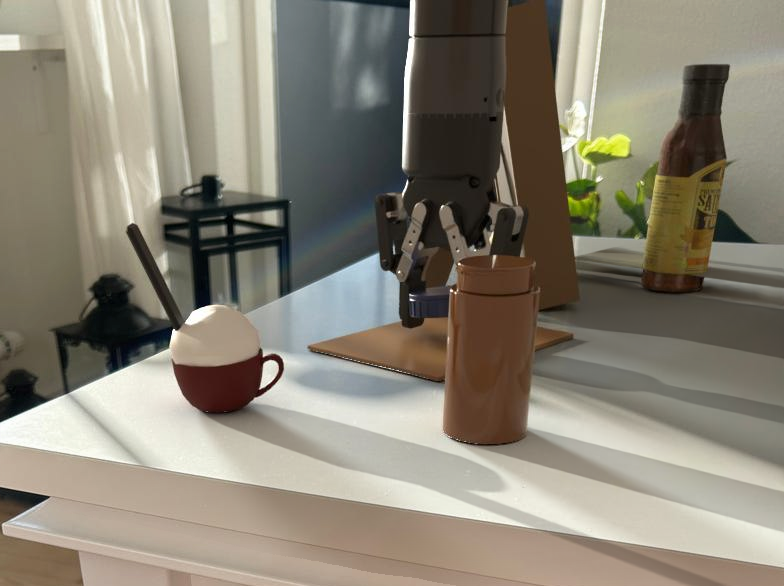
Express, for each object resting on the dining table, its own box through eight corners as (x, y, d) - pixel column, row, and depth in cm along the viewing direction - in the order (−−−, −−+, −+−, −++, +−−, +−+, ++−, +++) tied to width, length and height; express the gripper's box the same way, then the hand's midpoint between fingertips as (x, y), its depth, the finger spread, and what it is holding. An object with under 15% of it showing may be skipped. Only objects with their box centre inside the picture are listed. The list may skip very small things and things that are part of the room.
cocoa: (295, 402, 72) (291, 221, 66) (246, 428, 68) (237, 235, 62) (186, 385, 77) (173, 213, 71) (134, 407, 72) (115, 226, 66)
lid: (494, 310, 83) (493, 287, 82) (426, 321, 81) (425, 298, 81) (463, 304, 88) (462, 282, 87) (399, 314, 87) (397, 292, 86)
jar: (438, 418, 69) (447, 254, 63) (519, 418, 69) (534, 253, 63) (446, 445, 64) (456, 270, 59) (533, 445, 64) (550, 269, 59)
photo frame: (545, 267, 114) (571, 5, 102) (578, 311, 95) (614, -5, 83) (412, 268, 115) (421, 8, 103) (419, 311, 96) (431, -1, 84)
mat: (444, 313, 96) (444, 309, 95) (573, 338, 87) (574, 333, 87) (307, 350, 85) (307, 345, 85) (438, 382, 76) (438, 377, 76)
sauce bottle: (695, 297, 100) (734, 64, 90) (631, 291, 103) (663, 64, 93) (710, 285, 105) (750, 62, 95) (649, 279, 108) (681, 63, 98)
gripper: (350, 106, 79) (348, 327, 88) (501, 111, 70) (483, 357, 79) (413, 102, 84) (406, 312, 92) (563, 106, 75) (540, 339, 83)
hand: (442, 332), depth 85 cm, fingers closed on lid, 5 cm apart
